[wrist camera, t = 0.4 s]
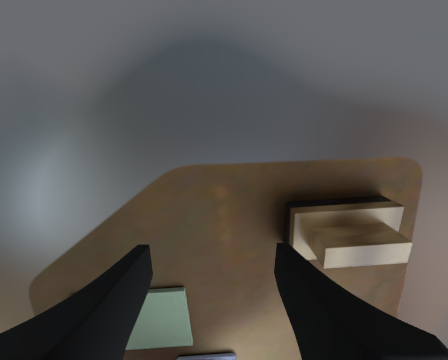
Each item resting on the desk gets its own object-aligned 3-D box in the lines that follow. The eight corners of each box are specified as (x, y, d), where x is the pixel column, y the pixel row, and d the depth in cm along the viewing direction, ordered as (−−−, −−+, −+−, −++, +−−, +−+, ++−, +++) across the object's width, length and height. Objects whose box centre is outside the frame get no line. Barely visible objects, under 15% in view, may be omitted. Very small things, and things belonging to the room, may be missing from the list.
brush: (383, 194, 22) (437, 223, 16) (374, 238, 24) (421, 277, 18) (285, 201, 22) (308, 232, 16) (284, 244, 23) (303, 285, 18)
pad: (193, 340, 28) (192, 345, 27) (93, 347, 28) (90, 352, 27) (184, 286, 25) (184, 290, 24) (73, 294, 25) (69, 298, 24)
